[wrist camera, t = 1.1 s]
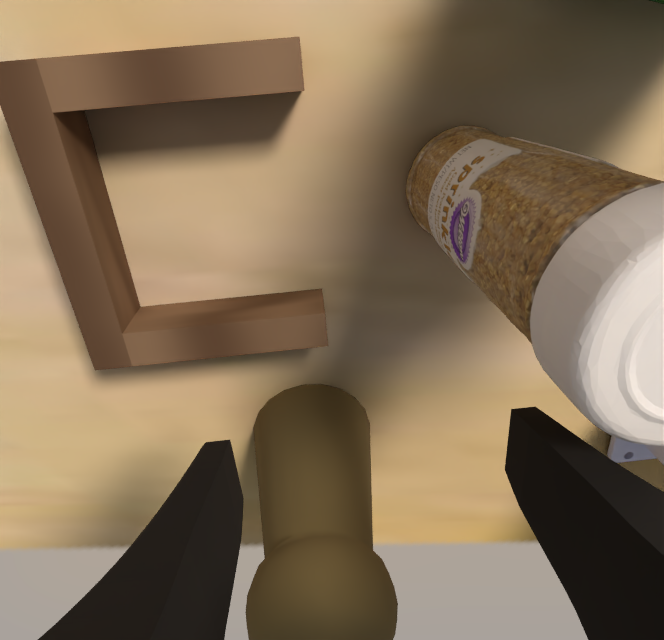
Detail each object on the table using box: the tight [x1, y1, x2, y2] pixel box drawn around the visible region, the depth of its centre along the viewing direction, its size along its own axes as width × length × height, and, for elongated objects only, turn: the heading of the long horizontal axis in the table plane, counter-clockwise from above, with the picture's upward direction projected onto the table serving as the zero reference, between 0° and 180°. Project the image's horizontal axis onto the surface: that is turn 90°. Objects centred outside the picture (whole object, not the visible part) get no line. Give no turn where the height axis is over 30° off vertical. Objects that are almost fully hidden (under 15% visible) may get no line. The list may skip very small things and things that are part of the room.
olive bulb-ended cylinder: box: [246, 384, 398, 640], centre depth 20 cm, size 6×6×11 cm
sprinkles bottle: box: [406, 126, 664, 446], centre depth 14 cm, size 5×5×14 cm
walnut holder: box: [0, 37, 328, 370], centre depth 18 cm, size 10×11×2 cm
